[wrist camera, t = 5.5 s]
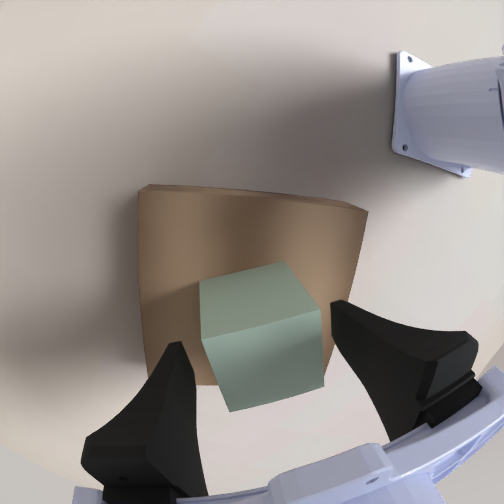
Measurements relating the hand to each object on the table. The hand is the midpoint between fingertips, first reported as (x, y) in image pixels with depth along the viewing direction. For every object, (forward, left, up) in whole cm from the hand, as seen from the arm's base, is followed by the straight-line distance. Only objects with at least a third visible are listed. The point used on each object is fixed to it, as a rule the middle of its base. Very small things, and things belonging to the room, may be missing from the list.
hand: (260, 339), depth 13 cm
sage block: (0, 0, -3) cm, 3 cm away
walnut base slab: (0, 0, -6) cm, 6 cm away
